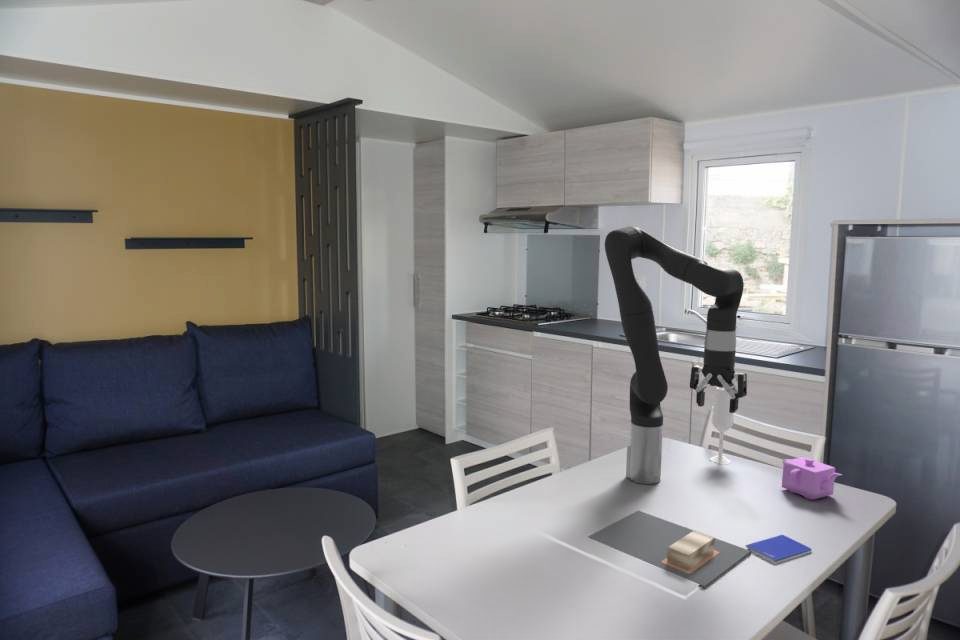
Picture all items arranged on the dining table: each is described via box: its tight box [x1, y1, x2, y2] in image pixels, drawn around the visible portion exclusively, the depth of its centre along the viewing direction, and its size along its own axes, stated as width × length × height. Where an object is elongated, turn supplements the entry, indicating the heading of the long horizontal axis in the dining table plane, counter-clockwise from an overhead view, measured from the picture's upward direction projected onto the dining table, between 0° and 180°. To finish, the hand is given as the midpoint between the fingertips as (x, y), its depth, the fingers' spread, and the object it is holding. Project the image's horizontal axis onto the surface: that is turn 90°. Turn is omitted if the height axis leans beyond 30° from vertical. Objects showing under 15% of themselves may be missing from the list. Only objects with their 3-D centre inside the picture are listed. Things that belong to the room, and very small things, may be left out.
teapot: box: [781, 456, 843, 501], centre depth 183 cm, size 18×14×10 cm
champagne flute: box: [709, 386, 734, 465], centre depth 209 cm, size 7×7×24 cm
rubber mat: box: [587, 510, 752, 589], centre depth 153 cm, size 30×22×1 cm
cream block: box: [667, 530, 716, 570], centre depth 146 cm, size 12×5×4 cm, turn 134°
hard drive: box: [745, 534, 813, 565], centre depth 151 cm, size 2×8×12 cm
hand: (716, 409), depth 168 cm, fingers open, 8 cm apart
